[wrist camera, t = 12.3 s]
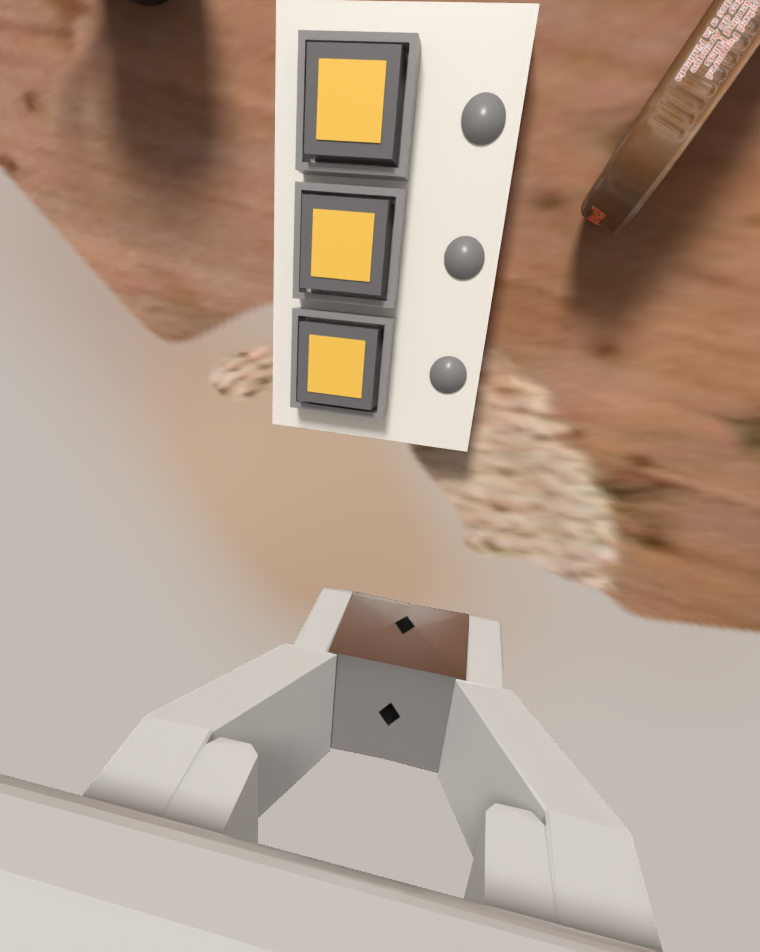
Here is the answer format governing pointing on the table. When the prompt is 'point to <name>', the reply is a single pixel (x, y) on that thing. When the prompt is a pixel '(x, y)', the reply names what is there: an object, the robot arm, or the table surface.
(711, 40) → the tin
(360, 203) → the button middle
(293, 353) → the button panel
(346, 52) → the button
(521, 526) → the table surface
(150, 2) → the coffee mug
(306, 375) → the button
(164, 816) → the robot arm
